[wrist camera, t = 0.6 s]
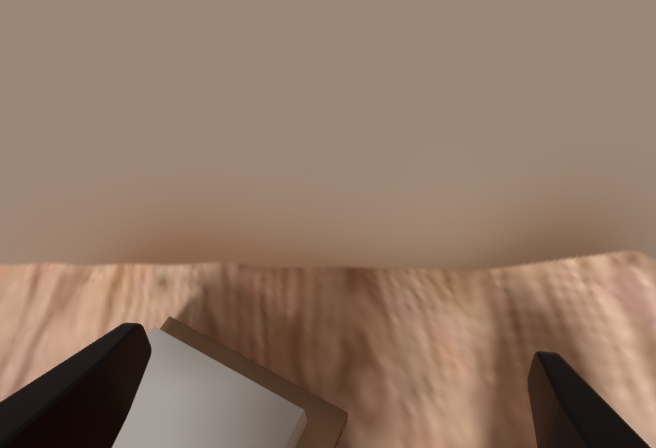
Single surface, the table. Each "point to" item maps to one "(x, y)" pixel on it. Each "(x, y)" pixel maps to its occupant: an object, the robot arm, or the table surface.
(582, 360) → the table surface
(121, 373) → the robot arm
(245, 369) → the walnut base slab
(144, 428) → the grey top slab
